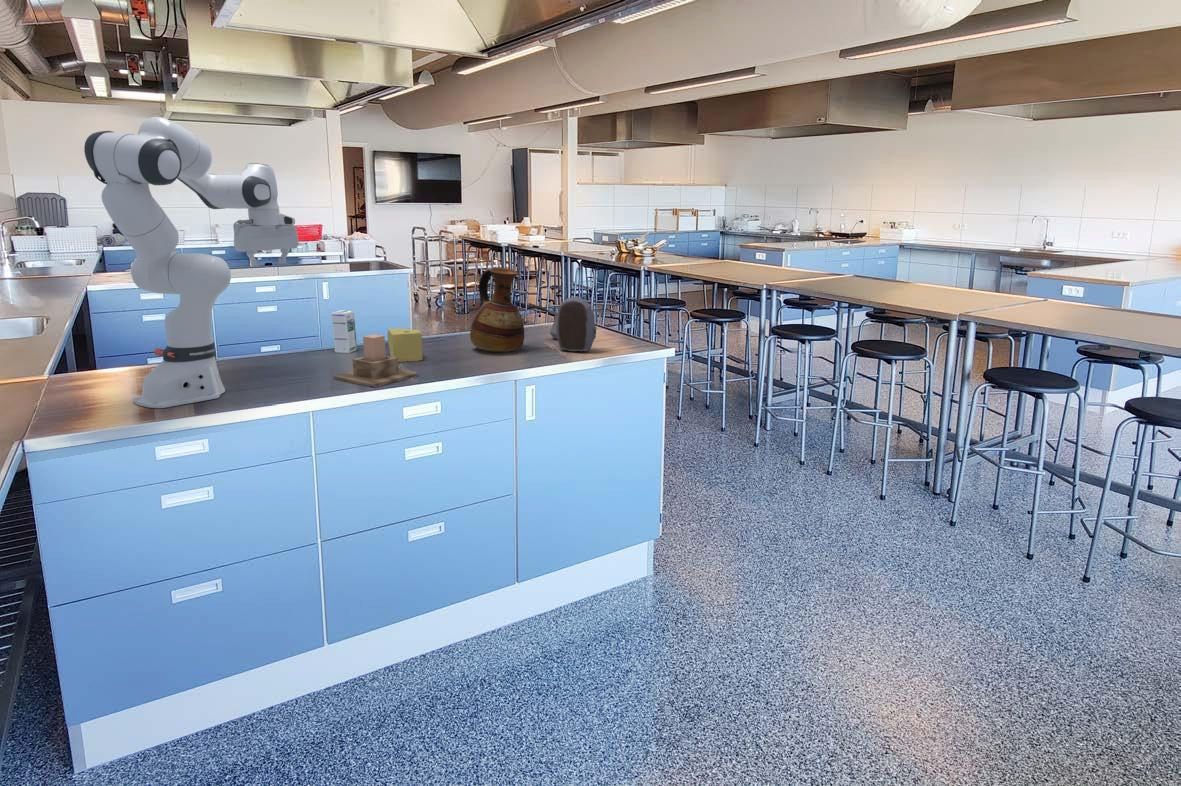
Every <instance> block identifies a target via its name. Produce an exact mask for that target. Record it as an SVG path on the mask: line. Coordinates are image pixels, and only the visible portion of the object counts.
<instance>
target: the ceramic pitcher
mask: <svg viewBox="0 0 1181 786" xmlns="http://www.w3.org/2000/svg"><path fill="white" fill-rule="evenodd" d="M518 275H519V273H518V271H517V270H514V269H511V268H507V267H506V268H505V267H491V268H488V269H486V270H485V271H484V272H483V273H482V274H481V277H480V279H479V284H478V294H479V297H480V303H481V306H480V308H479V309H478V310H477V312H476V313H475V315H474V317H473V320H472V322H471V324H470V325H471V326H470V331H469V332H470V333H469V336H470V337H469V338H470V341H471V343H472V345H473V346H474V347H476V348H477V349H479V350H480V351H481V350H482V351H484V352H485V351H486V352H494V353H496V352H497V353H508V352H511V351H512V352H513V351H517V350H519V349H521V348H522V346H523V344H524V342H525V324H524V321H523V317H522V314H521V313H520V311H519V309H518V307H516V306H515V304H513V302H512V300H511V298H512V297H511V291H512V284H513V282H514V280H515V278H516V277H517V276H518ZM491 277H493V281H494V289H493V293H492V296H491V299H490V297H489V293H488V286H489V285H488V284H489V282H490V279H491Z"/></svg>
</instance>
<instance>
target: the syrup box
mask: <svg viewBox="0 0 1181 786" xmlns="http://www.w3.org/2000/svg"><path fill="white" fill-rule="evenodd" d="M354 312H355V311H354V310H351V309H350V310H349V309H348V310H347V309H342V310H341V309H340V310H337V311H334V312H331V324H332V335H333V345H334V352H335V353H339V354H351V353H353V352H356V351H357V350H358V345H357V331H356V322H355V320H356V319H355V313H354ZM356 345H357V346H356Z"/></svg>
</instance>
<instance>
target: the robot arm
mask: <svg viewBox="0 0 1181 786" xmlns="http://www.w3.org/2000/svg"><path fill="white" fill-rule="evenodd" d="M138 128H139V129H138V134H135V133H128V132H118V131H117V132H116V131H112V130H101V131H96V132H94V133H91V134H90V135H88V136H87V138H86V140H85V141H84V149H83V150H84V157H85V160H86V162H87V164H88V166H89V168H90V169H91V170H92V171H93V175H94V177H95V178H96V180H98V181H99V182H101V183H102V184H104V185H105V186H104V188H103V189H102V191H101V195H100V196H101V201H102V203H103V207H104V208H105V211H106V212H107V214H108V216H109V217H110V219H111V221H112V222H113V223H114V225H115V226H116V228H117V230H118V231H119V232H120V233H121V234H122V236H123V237H124V238H125V239H126V241H127V242H128V244H129V245H130V246H131V247H132V249H133V250H134V253H135V254H136V257H135V259H134V260H133V262H132V264H131V268H130V275H131V279H132V281H133V283H134V284H135V285H136V287H138V289H140V290H143V291H145V292H146V291H147V292H151V293H155V294H159V295H160V294H161V295H164V294H165V295H166V294H167V295H179V303H178V306H177V307H176V308H174V309H172V310H170V311H169V312H168V313H167V315H165V318H164V327H165V335H166V340H167V341H166V342H167V344H166V347H165V348H164V349H163V348H159V347H157V348H154V350H153V354H154V355H155V356H159V357H162V361H161V362H159V363H158V365H156V367H154V369H152V370H151V371H150V372H149V373H148V374H147V375H145V377H144V378H143V380H142V384H141V385H142V386H141V395H140V394H139V395H137V396H134V397H133V403H134V404H135V405H138V406H141V407H145V408H150V409H165V408H171V407H177V406H182V405H186V404H192V403H193V404H194V403H198V402H204V401H209V400H215V399H219V398H220V396H221V395H222V394H224V393H225V392H226V389H225V386H224V384H223V382H222V379H221V376H220V373H219V370H218V369H219V368H218V366H217V350H216V349H217V348H216V344H215V342H214V341H213V340H214V339H213V331H212V311H213V307H214V305H215V303H216V301H217V299H218V297H220V296H221V294H223V292H225V291H226V289H228V287H229V285H230V283H231V279H232V272H231V269H230V267H229V264H227V262H226V261H225V259H224V258H221V257H219V256H215V255H211V254H206V253H192V252H191V253H189V252H188V253H187V252H185V253H184V252H178V251H176V250H175V249H176V248H177V246H178V244H179V240H180V239H179V236H180V235H179V232H178V230H177V228H176V227H175V225H174V224H173V222H172V221H171V219H170V217H169V216H168V215H167V214H166V212H165V211H164V210H163V208H162V207H161V205H160V204H159V203H158V202H157V201H156V199H155V198H154V197H153V195H152V192H151V190H150V185H153V186H168V185H171V184H173V183H174V182H175V181H177V180H179V182H181V184H184V186H186V187H187V188H189V189H190V190H191V191H192V192H194V193H195V194H196V195H197V196H198V197H199V198H200V199H199V200H201V201H202V203H203V204H204V205H206V207H208V208H209V209H212V210H222V209H223V210H225V209H234V210H235V209H237V210H239V209H246V210H247V213H248V219H238V220H237V221H235V222H234V223H233V235H234V236H233V247H234V249H235V251H237V252H240V253H241V252H243V253H246V256H247V258H249V260H250V264H251V266H252V267H259V266H260V261H259V259H256V257H255V255H256V253H255V252H257V251H273V250H274V251H275V250H276V251H277V250H279V251H280V253H281V254H280V257H278V258H277V259H278V264H280V265H285V264H287V257H288V255H289V250H291V249H297V248H298V246H299V244H300V243H299V235H298V230H297V228H296V226H295V224H296V219H295V218H294V217H292V216H289V215H286V214H283V213H280V212H281V211H280V207H279V204H278V197H279V193H278V185H277V184H278V183H277V179H276V175H275V171H274V169H273V168H272V167H271V166H270V165H268V164H263V163H257V162H251V163H247V164H246V165H245V170H243V171H242V172H240V173H239V174H218V173H208V172H209V169H210V168H211V165H212V163H213V162H212V161H213V160H212V158H213V156H212V151H211V149H210V147H209V146H208V144H207V143H206V142H205V141H204V140H203V139H202V138H201V137H199V136H197V134H194V133H193V131H190V130H189V129H187V128H185V127H184V126H182V125H180V124H179V123H176V122H175V121H173V120H170V119H167V118H165V117H160V116H152V117H149V118H147V119H146V120H144V121H143V122H142V123H141V124H140V127H138ZM149 184H150V185H149Z"/></svg>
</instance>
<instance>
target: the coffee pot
mask: <svg viewBox="0 0 1181 786" xmlns="http://www.w3.org/2000/svg"><path fill="white" fill-rule="evenodd" d="M526 306H527V309H529V307H530V306H531V307H532V308H535V309H538V310H540V311H543V312H546V313H548V314H551V315H554V316H555V319H554V321H553V323H552V325H551V328H550V330H549V333H550V335H551V337H553V338H554V340H556V339H557V337H556V326H557V313H558V312H554V311H551V310H549V309H546V308H544V307H542V306H540V305H536V304H532V303H529V302H528V303H527V305H526ZM559 306H560V305H558V306H556V309H557V311H558V310H559Z"/></svg>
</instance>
